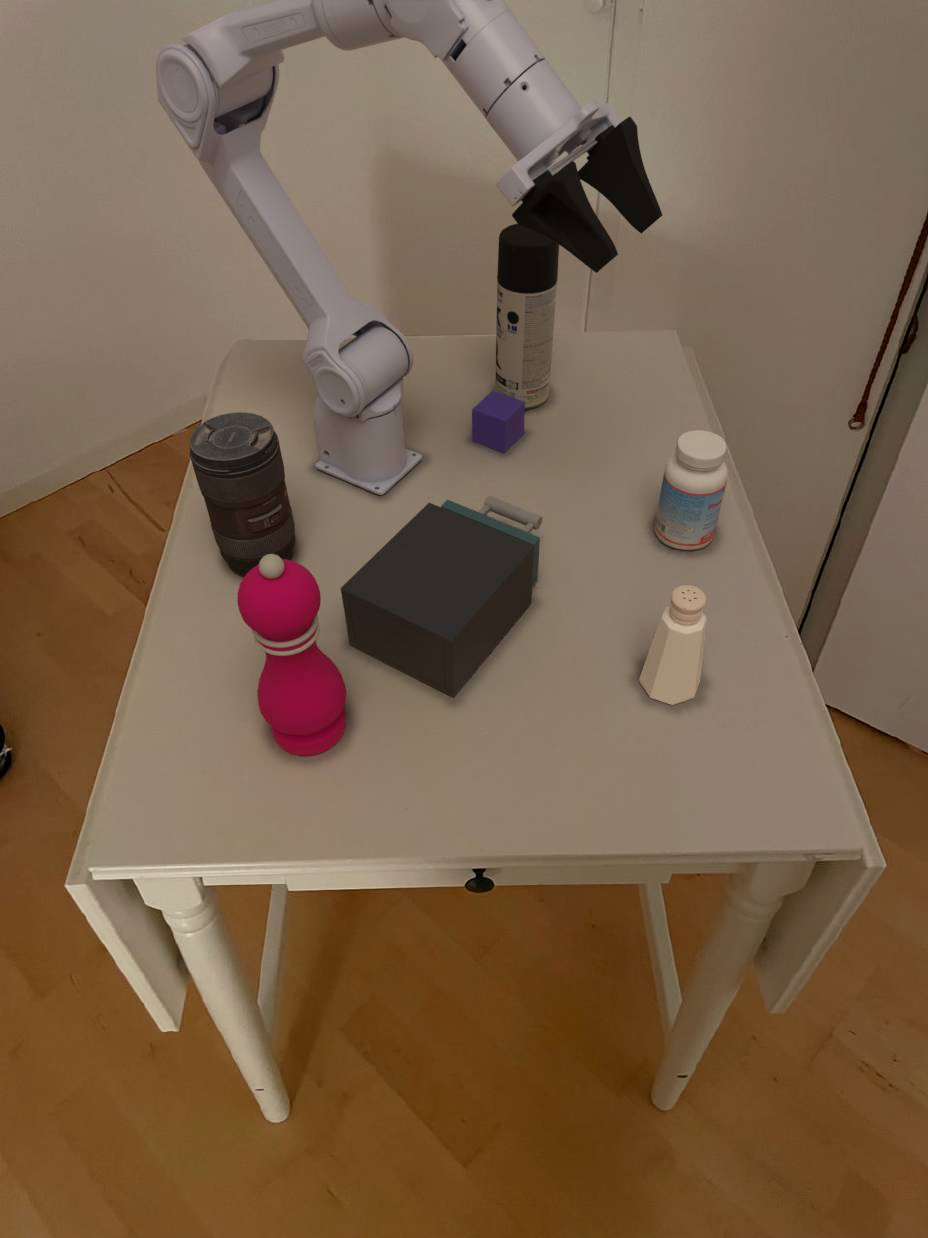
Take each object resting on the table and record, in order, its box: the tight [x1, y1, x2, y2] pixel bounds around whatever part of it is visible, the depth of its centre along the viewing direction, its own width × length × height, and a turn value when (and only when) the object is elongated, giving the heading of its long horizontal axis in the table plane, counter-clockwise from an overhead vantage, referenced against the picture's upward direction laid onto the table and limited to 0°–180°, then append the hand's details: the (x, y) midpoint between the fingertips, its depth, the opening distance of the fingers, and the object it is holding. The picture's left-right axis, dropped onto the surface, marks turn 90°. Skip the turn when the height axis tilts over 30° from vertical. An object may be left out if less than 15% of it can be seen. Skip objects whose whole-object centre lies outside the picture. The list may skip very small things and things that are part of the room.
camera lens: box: [189, 411, 296, 578], centre depth 88 cm, size 8×8×15 cm
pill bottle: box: [654, 429, 729, 551], centre depth 91 cm, size 6×6×11 cm
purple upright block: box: [471, 390, 526, 454], centre depth 105 cm, size 4×4×4 cm
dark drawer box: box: [340, 502, 534, 699], centre depth 84 cm, size 14×12×8 cm
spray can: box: [494, 223, 560, 411], centre depth 105 cm, size 7×7×20 cm
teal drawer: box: [440, 495, 544, 588], centre depth 87 cm, size 17×10×6 cm, turn 147°
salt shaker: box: [638, 584, 708, 706], centre depth 77 cm, size 5×5×11 cm
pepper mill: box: [236, 554, 347, 757], centre depth 71 cm, size 7×7×20 cm
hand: (630, 243), depth 69 cm, fingers open, 7 cm apart
